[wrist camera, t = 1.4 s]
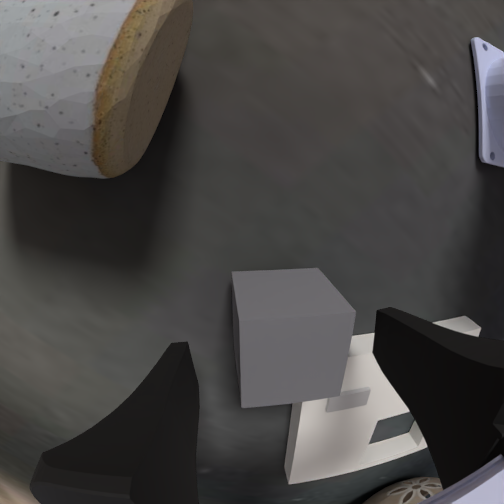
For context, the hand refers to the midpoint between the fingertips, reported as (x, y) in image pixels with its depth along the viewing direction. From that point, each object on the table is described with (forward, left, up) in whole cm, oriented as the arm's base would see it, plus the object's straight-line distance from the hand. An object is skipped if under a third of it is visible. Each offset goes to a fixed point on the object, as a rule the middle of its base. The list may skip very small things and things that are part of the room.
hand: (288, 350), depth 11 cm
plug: (0, 0, -4) cm, 4 cm away
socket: (-8, +8, -4) cm, 12 cm away
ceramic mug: (+8, -12, -4) cm, 15 cm away
